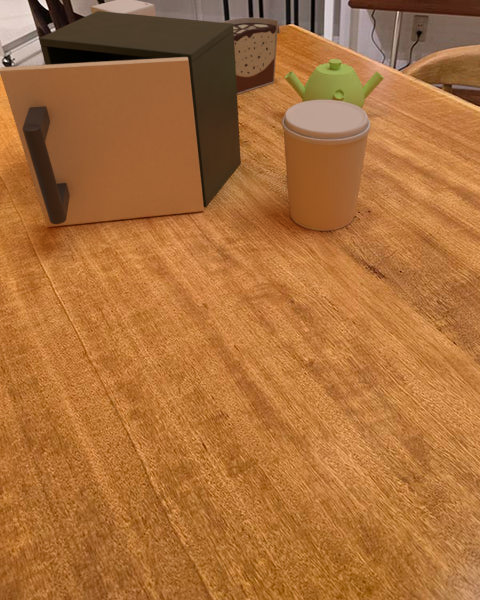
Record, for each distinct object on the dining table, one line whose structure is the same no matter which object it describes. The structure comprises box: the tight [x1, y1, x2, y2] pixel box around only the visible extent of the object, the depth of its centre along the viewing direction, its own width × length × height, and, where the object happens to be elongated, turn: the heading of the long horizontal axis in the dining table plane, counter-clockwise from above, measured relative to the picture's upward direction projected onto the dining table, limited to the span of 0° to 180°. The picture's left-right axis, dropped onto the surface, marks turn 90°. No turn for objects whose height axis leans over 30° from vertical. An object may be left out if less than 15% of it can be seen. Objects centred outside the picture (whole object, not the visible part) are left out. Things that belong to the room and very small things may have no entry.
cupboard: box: [38, 11, 242, 208], centre depth 71 cm, size 12×18×18 cm
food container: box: [221, 17, 281, 96], centre depth 99 cm, size 12×6×10 cm, turn 135°
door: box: [0, 57, 205, 228], centre depth 60 cm, size 7×18×17 cm, turn 103°
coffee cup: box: [281, 100, 371, 232], centre depth 66 cm, size 9×9×12 cm
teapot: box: [284, 58, 385, 109], centre depth 90 cm, size 11×12×8 cm
